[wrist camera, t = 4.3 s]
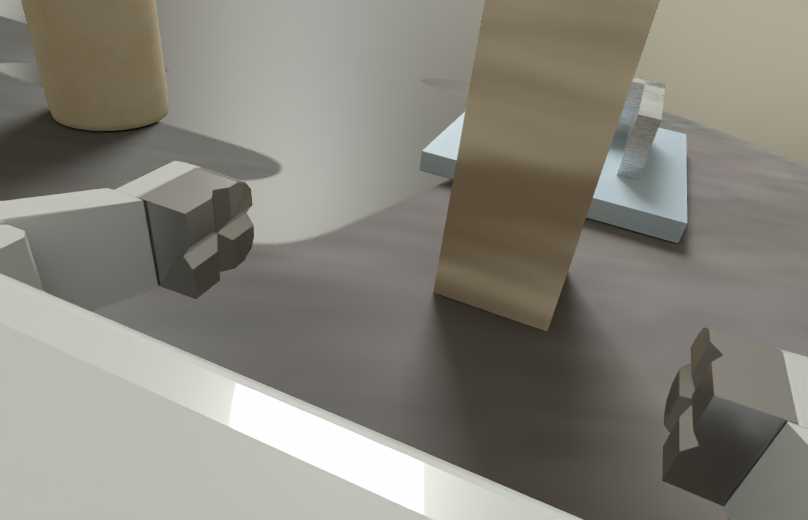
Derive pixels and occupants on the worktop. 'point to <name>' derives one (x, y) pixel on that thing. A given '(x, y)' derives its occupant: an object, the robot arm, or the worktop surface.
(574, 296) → the worktop surface
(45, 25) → the candle
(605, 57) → the beech post
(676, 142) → the base plate
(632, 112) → the slot bracket
